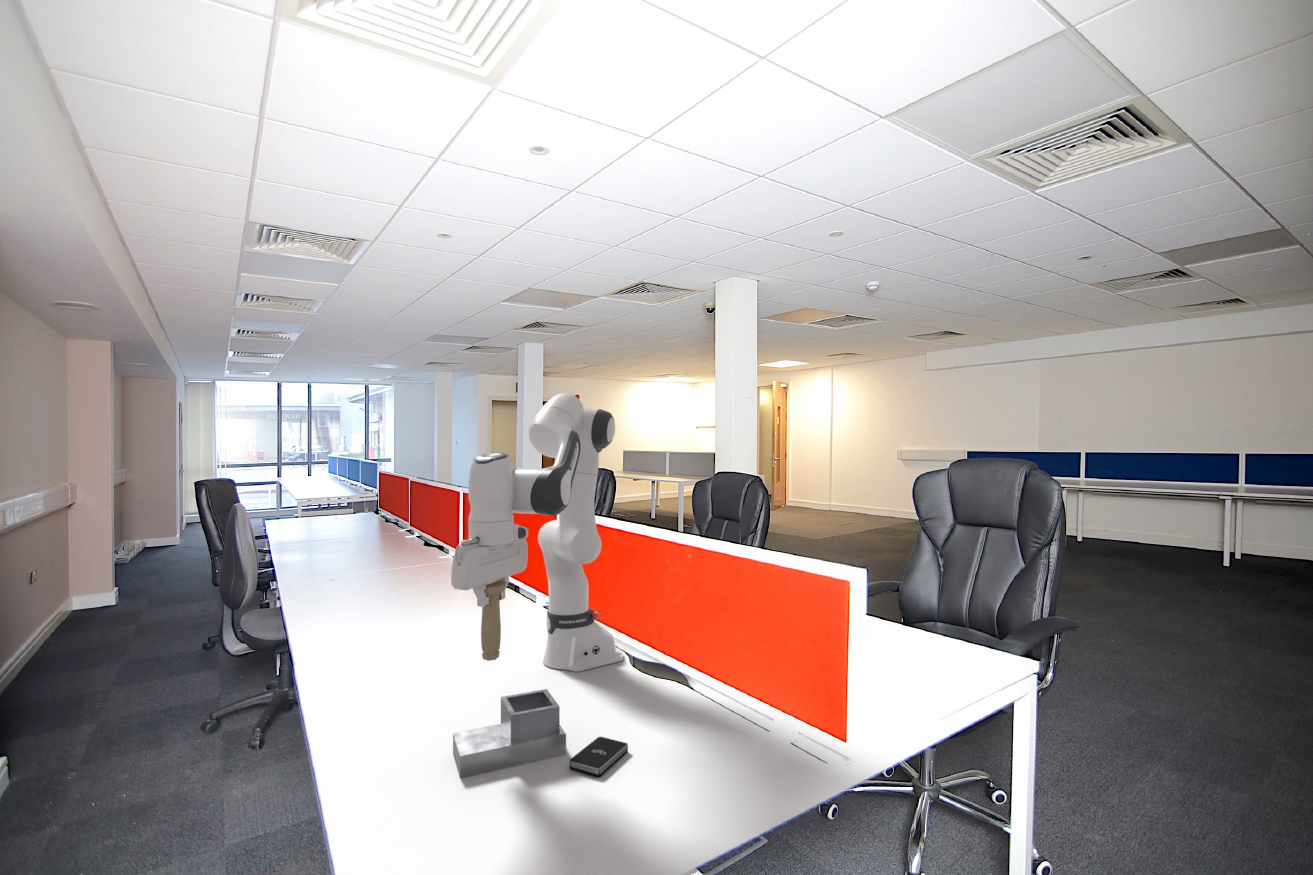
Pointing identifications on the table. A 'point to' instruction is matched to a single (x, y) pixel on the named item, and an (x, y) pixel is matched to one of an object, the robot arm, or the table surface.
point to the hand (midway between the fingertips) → (491, 602)
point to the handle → (491, 622)
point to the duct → (512, 736)
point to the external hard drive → (598, 756)
